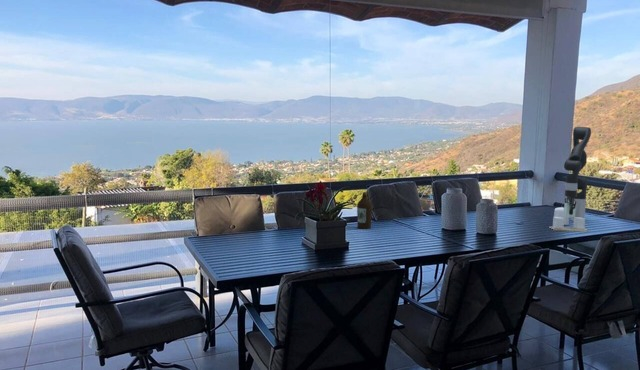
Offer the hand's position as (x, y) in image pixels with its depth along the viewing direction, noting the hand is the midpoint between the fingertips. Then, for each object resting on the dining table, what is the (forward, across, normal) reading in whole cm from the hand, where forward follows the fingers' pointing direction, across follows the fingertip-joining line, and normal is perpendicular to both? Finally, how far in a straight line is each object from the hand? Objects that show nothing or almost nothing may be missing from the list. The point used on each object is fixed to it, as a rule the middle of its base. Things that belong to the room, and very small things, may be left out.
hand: (569, 213), depth 343 cm
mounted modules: (+10, 0, 0) cm, 10 cm away
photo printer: (+11, +20, -3) cm, 23 cm away
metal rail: (+11, 0, 0) cm, 11 cm away
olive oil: (+12, -8, +142) cm, 143 cm away
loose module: (+2, 0, 0) cm, 2 cm away
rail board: (+11, 0, 0) cm, 11 cm away
